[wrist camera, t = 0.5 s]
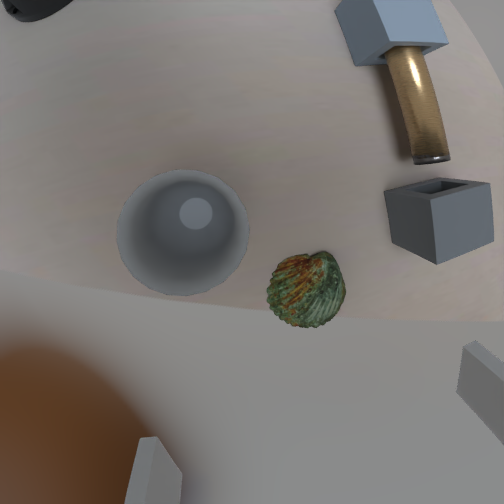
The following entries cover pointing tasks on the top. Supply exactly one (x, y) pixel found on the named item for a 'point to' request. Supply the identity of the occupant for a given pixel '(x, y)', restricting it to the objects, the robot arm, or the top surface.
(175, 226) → the chalice
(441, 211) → the socket
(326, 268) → the seashell
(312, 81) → the top surface
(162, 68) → the top surface
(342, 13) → the blue-grey cube-like block
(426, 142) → the slip tube
